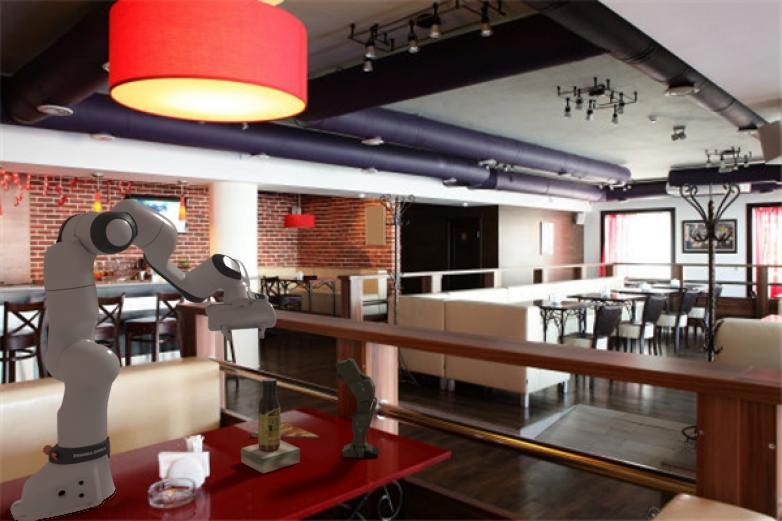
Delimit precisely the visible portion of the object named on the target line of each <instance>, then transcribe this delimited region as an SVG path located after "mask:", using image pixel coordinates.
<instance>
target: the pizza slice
mask: <svg viewBox="0 0 782 521" xmlns="http://www.w3.org/2000/svg"><path fill="white" fill-rule="evenodd" d="M304 437H305V438H313V439H314V438H315V439H316V438H319V437H320V436H319V435H317V434H315V433H313V432H310V431H307V430H306V429H302V428H300V427H297V426H295V425H293V424H290V423H287V420H286V419H285V418H281V427H280V438H303V439H305V438H304ZM251 438H258V429H256V430H254V432H252V434H251Z"/></svg>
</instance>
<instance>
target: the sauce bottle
mask: <svg viewBox="0 0 782 521" xmlns="http://www.w3.org/2000/svg"><path fill="white" fill-rule="evenodd" d="M261 383H262V398H261V399H260V401H259V403H258V427H257V428H258V437H257V440H258V442H257V444H259V449H260V450H262V451H273V450H277V449H278V448H279V447H280V440H281V437H280V427H281V420H282V418H281V412H282V411H281V408H282V407H281V405H280V401H279V399H278V396H277V384H278V381H277V378H264V379H262V382H261Z"/></svg>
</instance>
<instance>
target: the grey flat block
mask: <svg viewBox="0 0 782 521" xmlns="http://www.w3.org/2000/svg"><path fill="white" fill-rule="evenodd" d="M240 455H241V456H240V457H241V461H240V462H241V463H243V464H244V465H246V466H249V467H250V468H252V469H254V470H255V471H257V472H260V473H261V474H266V473H268V472H273V471H276V470H278V469H279V470H280V469H281V468H286V467H289V466H292V465H294V464H298V463H301V457H300V456H301V448H299V447H297V446H295V445H292V444H290V443H288V442H286V441H284V440H281V439H280V447H279V448H278V449H277V450H273V451H262V450H260V449H259V443H256V444H252V445H248V446H244V447H241V448H240Z"/></svg>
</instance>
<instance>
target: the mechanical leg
mask: <svg viewBox="0 0 782 521" xmlns="http://www.w3.org/2000/svg"><path fill="white" fill-rule="evenodd" d="M335 368H336V369H337V370H336V371H337V372H338V373H337V375H336V376H335V378H336V379H338V380H339V381H341V382H343V383H345V384H346V385H347V387H348V388H349V390H350V392H351V393H352V394H353V396H354V397H355V400H356V401H357V402H356V407H357V411H355V412H354V413H353V414H352V416H351V429H352V434H353V438H352V439H351V443H348V444H345V445H344V446H343V448H342V450H341V454H342V458H358V459H376V458H377V459H378V458H379V456H380V452H381V451H380V449H379V447H376V446H375V447H374V446H373V445H371V444H369V443H368V441H367V436H368V433H369V431H370V427H371V424H372V420H373V416H374V413H375V410H376V407H377V404H378V403H377V402H378V398H377V397H376V385H375V383H374V381H373V379H372V377H370V376H369V375H367V374H365V373H363V372H362V371H361V368H360V367H359V366H358V364H357V362H356V360H355V358H351V357H348V358H347V359H344V360H340V359H338V360H337V361H336V363H335Z"/></svg>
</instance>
